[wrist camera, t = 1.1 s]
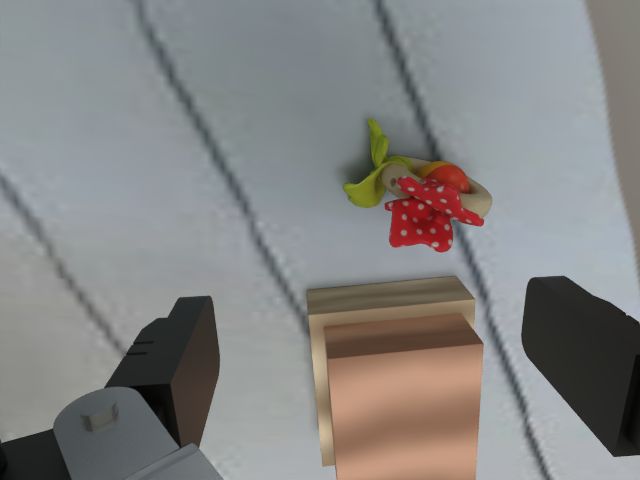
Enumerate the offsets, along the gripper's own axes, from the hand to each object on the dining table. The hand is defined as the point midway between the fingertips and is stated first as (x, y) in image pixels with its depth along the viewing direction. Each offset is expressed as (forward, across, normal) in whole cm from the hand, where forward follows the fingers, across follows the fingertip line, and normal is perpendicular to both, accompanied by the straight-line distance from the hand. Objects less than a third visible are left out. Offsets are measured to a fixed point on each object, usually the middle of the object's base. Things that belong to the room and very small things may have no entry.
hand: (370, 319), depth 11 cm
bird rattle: (+22, -6, 0) cm, 23 cm away
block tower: (+22, -5, +16) cm, 28 cm away
